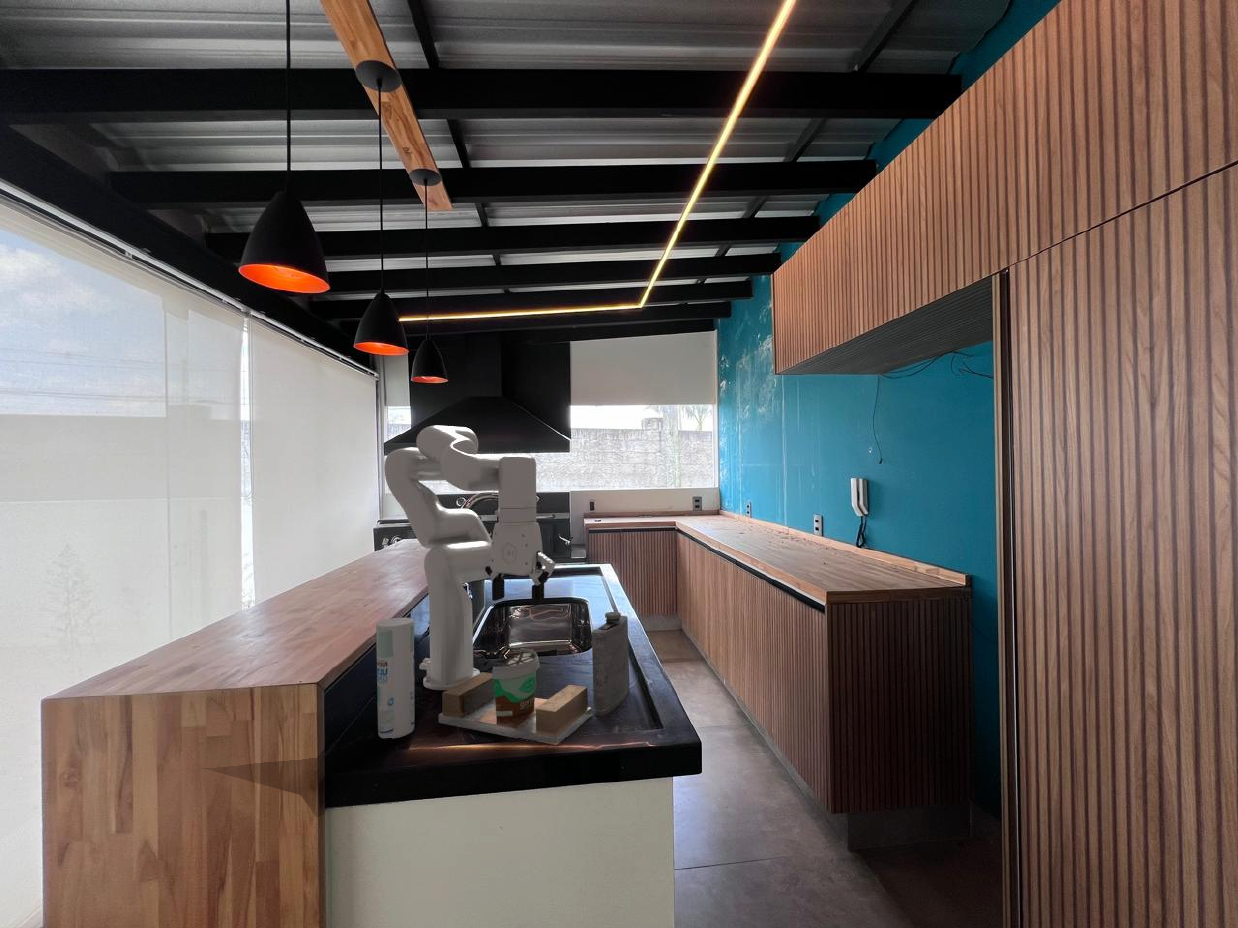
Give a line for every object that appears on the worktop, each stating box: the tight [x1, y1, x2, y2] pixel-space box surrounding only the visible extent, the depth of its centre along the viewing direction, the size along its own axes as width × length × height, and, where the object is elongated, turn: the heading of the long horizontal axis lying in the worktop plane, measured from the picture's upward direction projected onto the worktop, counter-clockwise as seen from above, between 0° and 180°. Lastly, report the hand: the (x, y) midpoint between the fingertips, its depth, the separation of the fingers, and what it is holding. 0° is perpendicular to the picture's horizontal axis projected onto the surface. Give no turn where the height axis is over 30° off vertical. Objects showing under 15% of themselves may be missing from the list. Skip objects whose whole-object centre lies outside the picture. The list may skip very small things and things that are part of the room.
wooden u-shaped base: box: [438, 671, 592, 743], centre depth 103 cm, size 26×13×6 cm, turn 66°
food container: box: [491, 647, 540, 720], centre depth 103 cm, size 12×6×10 cm, turn 164°
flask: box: [591, 611, 631, 717], centre depth 111 cm, size 4×14×18 cm, turn 158°
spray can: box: [375, 617, 415, 740], centre depth 100 cm, size 6×6×20 cm
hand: (517, 601), depth 108 cm, fingers open, 9 cm apart
